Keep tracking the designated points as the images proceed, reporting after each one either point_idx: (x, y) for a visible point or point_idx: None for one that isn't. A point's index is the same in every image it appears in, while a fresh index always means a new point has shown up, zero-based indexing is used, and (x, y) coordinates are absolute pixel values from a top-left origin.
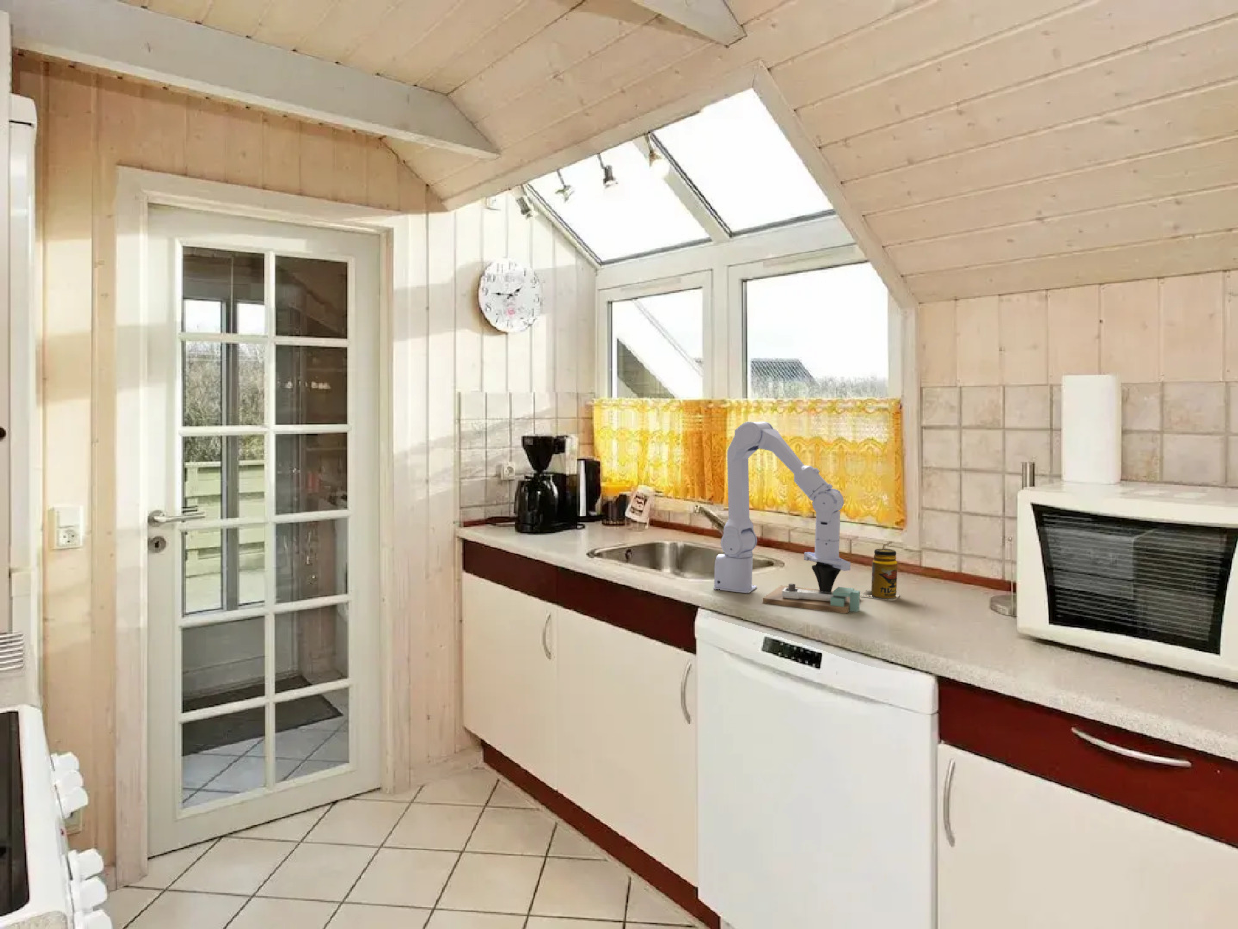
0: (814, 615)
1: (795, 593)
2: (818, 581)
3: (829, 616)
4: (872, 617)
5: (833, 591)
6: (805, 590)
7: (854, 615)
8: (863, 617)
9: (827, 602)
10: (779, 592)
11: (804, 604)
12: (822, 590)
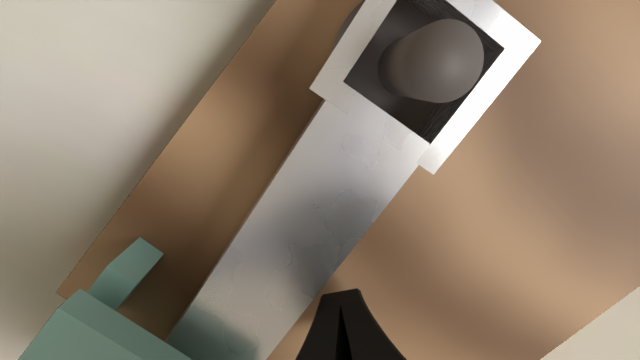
0: (31, 61)
1: (329, 60)
2: (375, 346)
3: (11, 148)
4: (7, 354)
5: (67, 316)
6: (369, 184)
7: (44, 294)
8: (3, 316)
9: (214, 253)
10: (594, 49)
11: (215, 84)
12: (327, 309)
